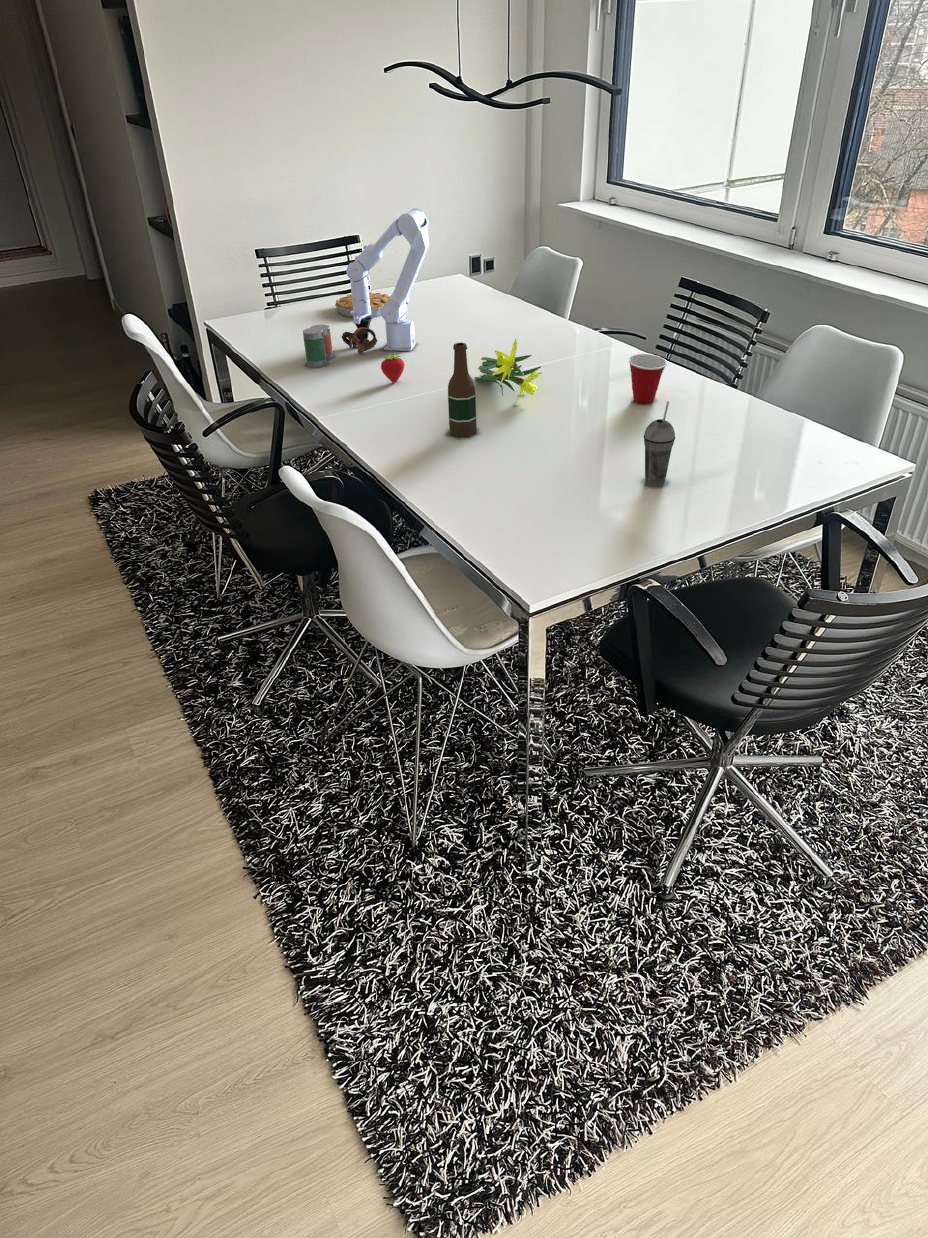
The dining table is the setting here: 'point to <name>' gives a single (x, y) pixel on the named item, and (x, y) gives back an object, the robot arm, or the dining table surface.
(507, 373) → the daffodil flowers
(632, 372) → the plastic cup
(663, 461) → the beverage cup
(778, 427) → the dining table surface
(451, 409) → the beer bottle
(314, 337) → the tin cans
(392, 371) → the strawberry
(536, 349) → the dining table surface
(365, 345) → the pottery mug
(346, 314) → the pie
